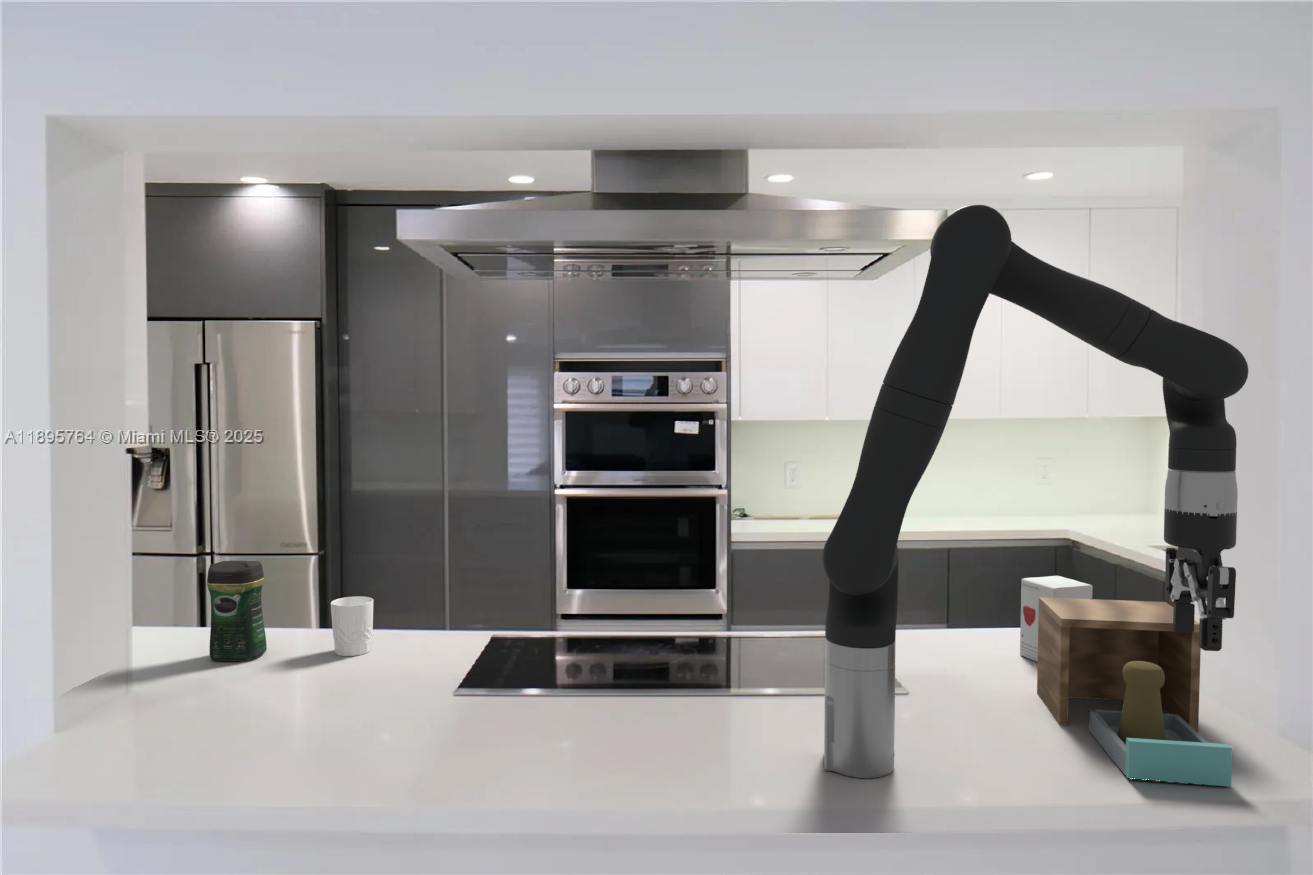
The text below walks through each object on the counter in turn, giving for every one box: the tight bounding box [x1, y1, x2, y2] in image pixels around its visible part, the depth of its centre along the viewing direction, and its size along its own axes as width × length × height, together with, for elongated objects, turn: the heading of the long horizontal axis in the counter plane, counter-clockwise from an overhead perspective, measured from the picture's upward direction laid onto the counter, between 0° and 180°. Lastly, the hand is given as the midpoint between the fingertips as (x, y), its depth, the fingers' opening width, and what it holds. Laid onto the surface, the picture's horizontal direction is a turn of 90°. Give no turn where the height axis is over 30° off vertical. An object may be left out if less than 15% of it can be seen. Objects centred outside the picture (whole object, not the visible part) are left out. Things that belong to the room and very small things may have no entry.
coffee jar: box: [206, 560, 267, 662], centre depth 168 cm, size 10×8×19 cm
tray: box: [1088, 708, 1233, 788], centre depth 121 cm, size 12×17×5 cm
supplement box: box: [1019, 575, 1094, 663], centre depth 165 cm, size 9×9×15 cm
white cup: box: [330, 595, 374, 657], centre depth 172 cm, size 8×8×10 cm
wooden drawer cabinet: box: [1036, 597, 1202, 733], centre depth 138 cm, size 19×14×16 cm
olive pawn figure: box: [1118, 661, 1166, 743], centre depth 124 cm, size 6×6×11 cm
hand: (1196, 640), depth 108 cm, fingers open, 7 cm apart
